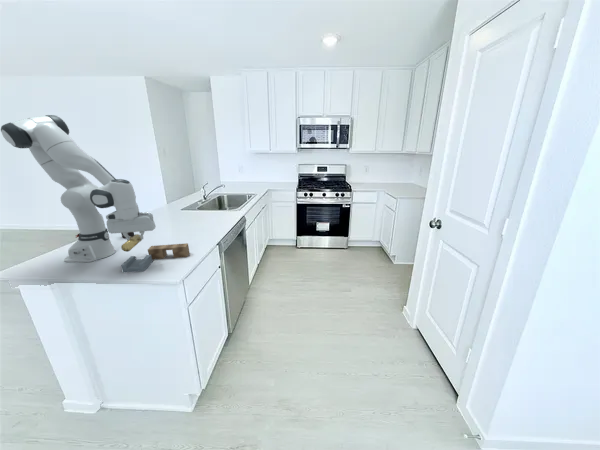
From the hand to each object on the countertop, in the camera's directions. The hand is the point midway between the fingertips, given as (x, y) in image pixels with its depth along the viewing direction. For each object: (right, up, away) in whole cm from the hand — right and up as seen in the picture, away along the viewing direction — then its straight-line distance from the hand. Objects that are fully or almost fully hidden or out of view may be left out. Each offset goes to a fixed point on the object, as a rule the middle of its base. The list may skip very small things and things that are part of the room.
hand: (135, 239), depth 122 cm
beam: (+11, -10, +13) cm, 19 cm away
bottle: (-33, -1, +42) cm, 54 cm away
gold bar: (+1, -3, -2) cm, 4 cm away
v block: (0, -14, +2) cm, 14 cm away
